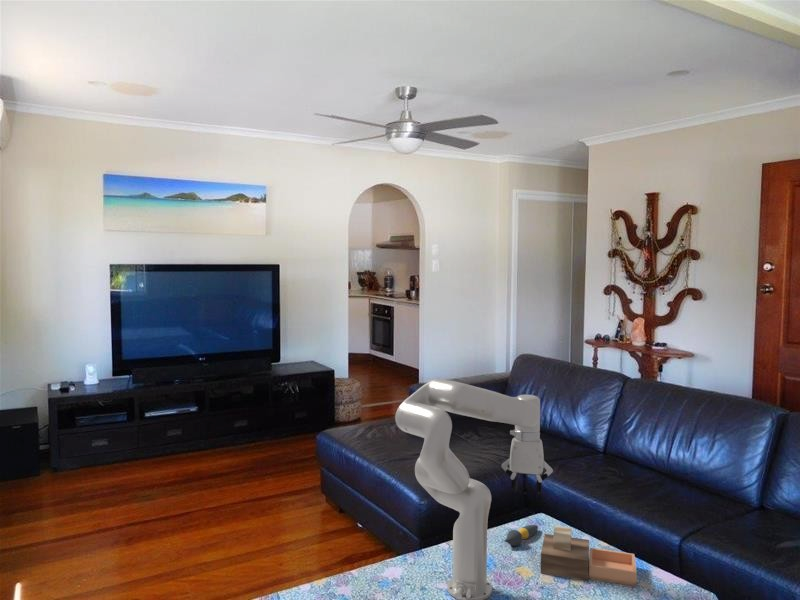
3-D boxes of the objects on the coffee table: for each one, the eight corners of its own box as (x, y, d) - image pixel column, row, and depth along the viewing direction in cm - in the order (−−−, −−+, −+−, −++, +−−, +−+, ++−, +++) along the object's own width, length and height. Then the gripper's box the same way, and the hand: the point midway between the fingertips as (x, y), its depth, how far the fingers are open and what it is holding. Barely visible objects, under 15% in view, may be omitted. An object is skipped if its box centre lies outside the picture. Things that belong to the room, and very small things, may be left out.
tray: (636, 586, 172) (636, 572, 172) (588, 579, 176) (589, 565, 176) (634, 566, 183) (634, 553, 183) (589, 560, 188) (589, 547, 187)
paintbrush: (527, 527, 211) (527, 513, 211) (540, 531, 208) (540, 517, 208) (500, 548, 196) (501, 533, 195) (514, 553, 193) (515, 537, 192)
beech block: (570, 550, 181) (570, 534, 181) (553, 548, 182) (553, 532, 182) (571, 543, 186) (571, 527, 185) (554, 541, 187) (554, 525, 187)
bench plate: (588, 580, 175) (588, 560, 175) (540, 573, 180) (540, 553, 179) (588, 558, 189) (589, 539, 188) (544, 552, 193) (544, 533, 192)
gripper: (497, 436, 185) (496, 493, 186) (555, 441, 179) (554, 500, 180) (501, 429, 192) (500, 485, 193) (556, 434, 187) (555, 491, 187)
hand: (526, 491), depth 187 cm, fingers open, 6 cm apart
